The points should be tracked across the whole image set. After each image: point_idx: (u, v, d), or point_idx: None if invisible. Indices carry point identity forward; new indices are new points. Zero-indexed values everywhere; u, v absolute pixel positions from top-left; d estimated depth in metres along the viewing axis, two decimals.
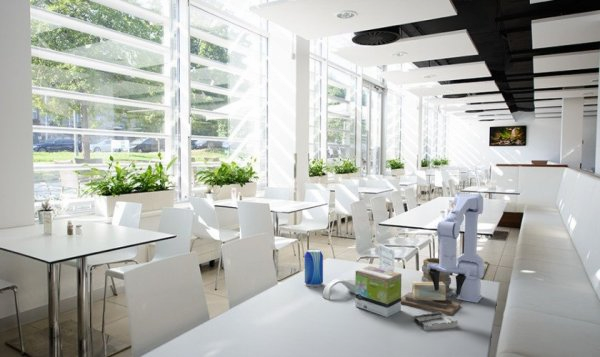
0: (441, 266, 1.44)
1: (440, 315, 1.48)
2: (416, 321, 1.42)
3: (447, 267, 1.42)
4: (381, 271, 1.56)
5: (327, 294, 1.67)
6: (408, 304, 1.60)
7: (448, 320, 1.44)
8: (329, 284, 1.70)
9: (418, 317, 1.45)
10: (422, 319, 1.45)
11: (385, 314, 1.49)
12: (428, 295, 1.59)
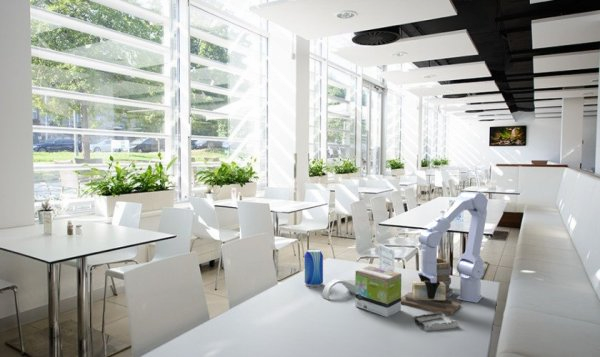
0: None
1: (440, 315, 1.48)
2: (416, 321, 1.42)
3: (422, 271, 1.59)
4: (381, 271, 1.56)
5: (326, 294, 1.67)
6: (408, 304, 1.60)
7: (448, 320, 1.44)
8: (328, 284, 1.69)
9: (418, 317, 1.45)
10: (422, 319, 1.45)
11: (385, 314, 1.49)
12: None
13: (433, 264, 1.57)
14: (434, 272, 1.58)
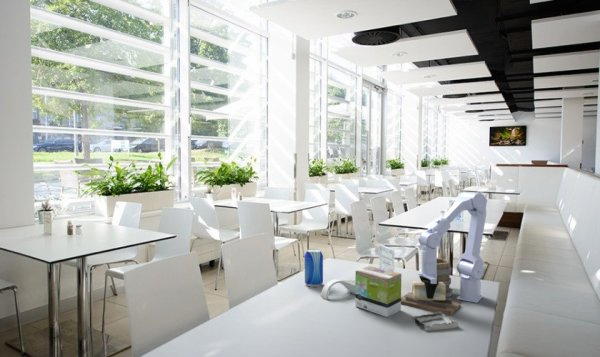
0: None
1: (440, 315, 1.48)
2: (416, 322, 1.42)
3: (422, 272, 1.59)
4: (381, 271, 1.56)
5: (325, 294, 1.67)
6: (408, 304, 1.60)
7: (448, 320, 1.44)
8: (327, 284, 1.70)
9: (418, 317, 1.44)
10: (422, 319, 1.45)
11: (385, 314, 1.49)
12: None
13: (433, 265, 1.57)
14: (434, 273, 1.58)
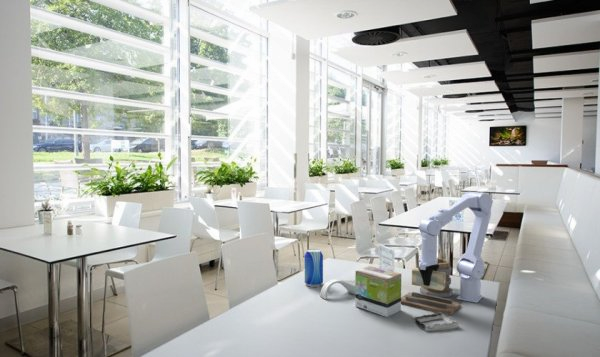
0: None
1: (440, 316, 1.47)
2: (417, 322, 1.41)
3: None
4: (381, 271, 1.56)
5: (324, 294, 1.68)
6: (408, 304, 1.60)
7: (448, 321, 1.44)
8: (326, 284, 1.70)
9: (419, 318, 1.44)
10: (423, 320, 1.45)
11: (385, 314, 1.49)
12: None
13: (429, 252, 1.57)
14: (430, 261, 1.57)
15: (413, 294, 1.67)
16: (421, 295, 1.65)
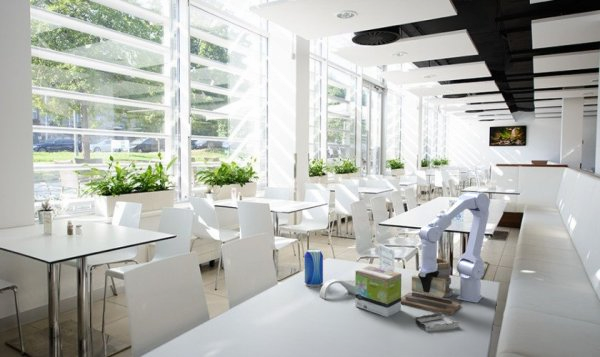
0: None
1: (440, 316, 1.47)
2: (417, 322, 1.41)
3: (421, 265, 1.61)
4: (381, 271, 1.56)
5: (323, 293, 1.68)
6: (408, 304, 1.60)
7: (449, 321, 1.44)
8: (326, 284, 1.70)
9: (419, 318, 1.44)
10: (423, 320, 1.44)
11: (385, 314, 1.49)
12: None
13: (429, 259, 1.57)
14: (430, 267, 1.57)
15: (413, 294, 1.67)
16: (421, 295, 1.65)
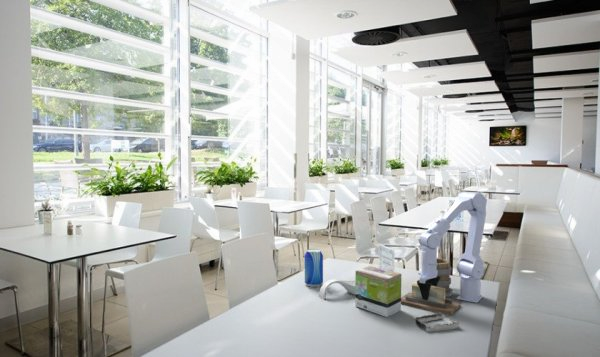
0: None
1: (440, 316, 1.47)
2: (417, 323, 1.41)
3: (421, 271, 1.61)
4: (381, 271, 1.56)
5: (323, 293, 1.68)
6: (408, 304, 1.60)
7: (449, 321, 1.43)
8: (325, 284, 1.70)
9: (419, 318, 1.44)
10: (423, 320, 1.44)
11: (385, 314, 1.49)
12: None
13: (429, 265, 1.57)
14: (430, 274, 1.57)
15: None
16: None
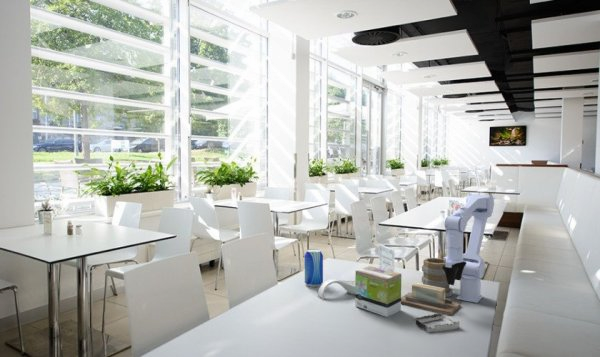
0: None
1: (440, 316, 1.47)
2: (418, 323, 1.41)
3: None
4: (381, 271, 1.56)
5: (321, 293, 1.68)
6: (408, 304, 1.60)
7: (449, 321, 1.43)
8: (324, 283, 1.70)
9: (419, 319, 1.43)
10: (423, 321, 1.44)
11: (385, 314, 1.49)
12: (424, 297, 1.60)
13: (455, 250, 1.53)
14: (456, 258, 1.53)
15: None
16: None
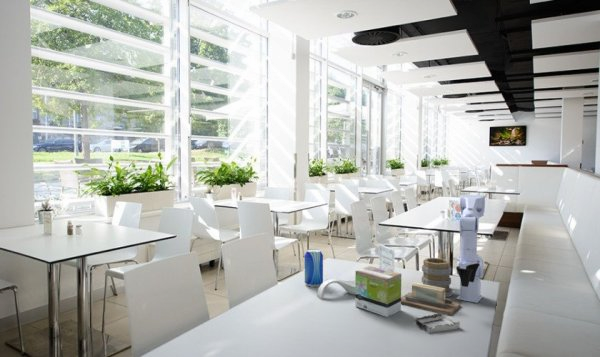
0: None
1: (440, 316, 1.47)
2: (418, 323, 1.40)
3: (460, 257, 1.54)
4: (381, 271, 1.56)
5: (321, 293, 1.68)
6: (408, 304, 1.60)
7: (449, 321, 1.43)
8: (323, 283, 1.70)
9: (419, 319, 1.43)
10: (423, 321, 1.44)
11: (385, 314, 1.49)
12: (424, 297, 1.60)
13: (469, 251, 1.51)
14: (470, 259, 1.51)
15: None
16: None
